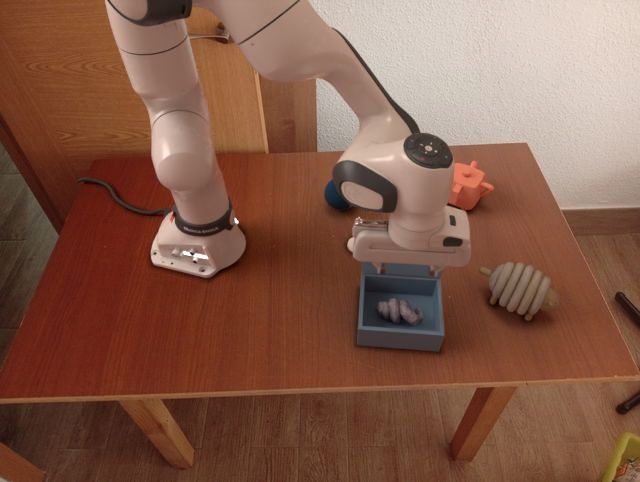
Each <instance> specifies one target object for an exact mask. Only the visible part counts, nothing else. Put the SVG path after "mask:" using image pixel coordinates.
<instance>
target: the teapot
mask: <svg viewBox="0 0 640 482" xmlns="http://www.w3.org/2000/svg"><path fill="white" fill-rule="evenodd" d="M454 165H455V170H454V180H453V186H452V191H451V195H450V199H449V201H448V203H447V204H450V205H452V206H455V207H457V208H460V210H463V211H468V210H472V209H473V208H475V206H476V205H477V203H478V202H479V200H480V199H481V197H485V196H487V195H490V194H492V193H493V192H494V190H495V187H494V186H493V185H492V184H490V183H488V182H486V173H485V172H484V171H482V170H480V169H478V168H479V165H480V162H478V161H476V160H472V161H471V163H470V165H467V164H465V163H461V162H454ZM485 188H486V189H485Z"/></svg>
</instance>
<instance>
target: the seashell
mask: <svg viewBox="0 0 640 482" xmlns="http://www.w3.org/2000/svg"><path fill="white" fill-rule="evenodd" d="M375 309H376V310H377V312H379V315H380V316H383V318H384V319H385V320H387V321H388V320H390V321H392V322H393V323H395V324H398V323H401V322H402V321H403V318H404V320H406V321H407V322H409V323H410V324H411V325H413V326H416V325H418V324H420V323H421V321H422V320H423V313H422V311H421V310H420V309H419V307H417V308H416V309H415V310H414V311H412V309H411V308H410V305H409V303H408V301H407V300H404V299H401V300H399V301H398V300H397V299H395V298H391V299H389V301H387V302H386V301H383V302H379V303H378V306H377V307H376V308H375Z"/></svg>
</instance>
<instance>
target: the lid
mask: <svg viewBox="0 0 640 482" xmlns="http://www.w3.org/2000/svg"><path fill="white" fill-rule="evenodd" d="M428 269H429V265H416V264H398V263H386V271H385V274H392V275H407V276H422V277H431V276H429V273H428ZM360 271H361V273H377V268H376V267H375V266H374V265H373V264H372V262H362V261H361V270H360ZM443 272H444V269H443V270H442V271H440V272H438V275H437V278H441V279H442V276H443Z"/></svg>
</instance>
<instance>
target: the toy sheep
mask: <svg viewBox="0 0 640 482" xmlns="http://www.w3.org/2000/svg"><path fill="white" fill-rule="evenodd" d="M478 273H479V274H481V275H484V276H485V277H487V278H488V286H489V290H490V291H491V292H492V293H491V294H492V295H491V297H490V300H489V303H490V304H491V305H495V304H496V303H497V301H498V300H499V301H498V302H499V303H498V304H499V305H500V307H503V308H504V307H506V309H507V311H508V312H509V313H513V312H515V311H516V313H517V314H518V315H520V316H523V315H525V316H524V320H525V321H527V322H529V321H531V320H532V318H533V316H534V315H535V314H537V313H538V311H539V310H541V311H544V312H554V311H557V310H558V309H559V307H560V302H561V301H560V296H559V295H558V293H557V292H556V291H557V290H558V288H557V287H556V286H555V285H554V286H553V287H551V283H552V282H551V281H552V280H551V278H550V277H549V276H543V275H544V273H543V271H541V270H540V269H535V267H534V266H533V265H532V264H528V265H525V264H524V263H523V262H517V263H516V264H515V263H514V262H513V261H507V262H505V263H501V264H499V265H498V266H496V267H494V269H492V270H491V269H489V268H487V267H485V266H480V267H479V269H478Z"/></svg>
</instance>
